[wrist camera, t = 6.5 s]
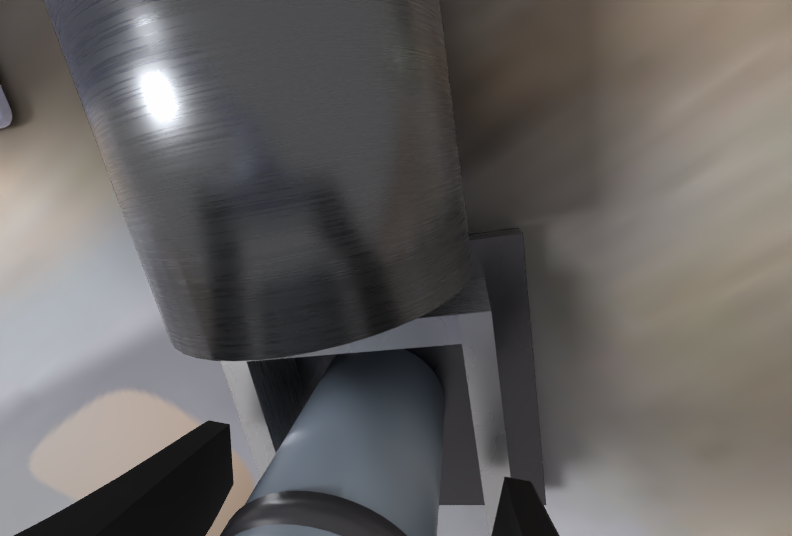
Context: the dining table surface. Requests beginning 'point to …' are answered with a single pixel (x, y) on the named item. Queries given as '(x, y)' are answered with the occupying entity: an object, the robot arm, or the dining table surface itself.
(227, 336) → the motor
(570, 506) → the dining table surface
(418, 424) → the banded grey cylinder
